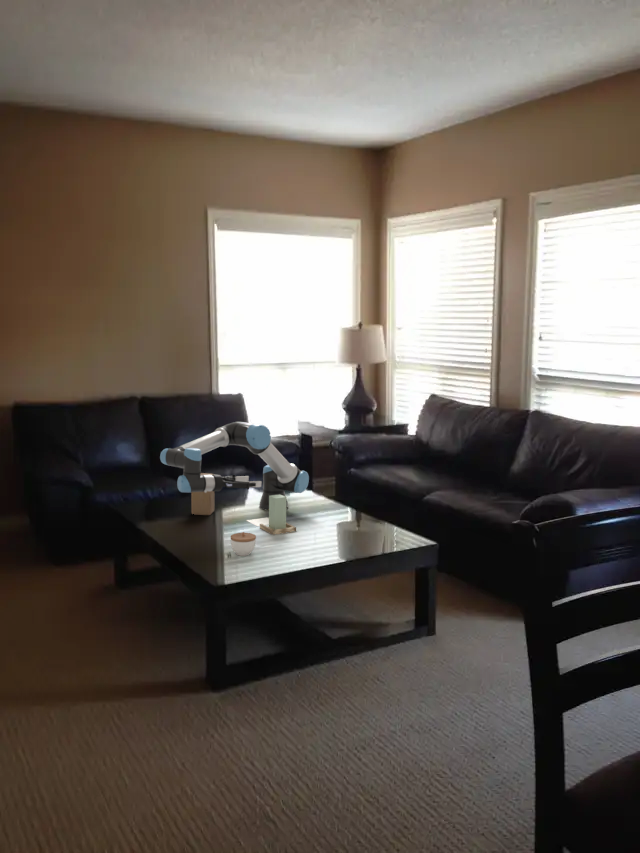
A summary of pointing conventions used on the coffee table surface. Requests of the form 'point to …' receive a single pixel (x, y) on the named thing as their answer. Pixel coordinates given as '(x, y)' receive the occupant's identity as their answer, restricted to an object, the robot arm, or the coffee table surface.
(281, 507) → the tall block
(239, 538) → the lidded jar
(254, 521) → the pad
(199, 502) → the block
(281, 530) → the shallow wooden tray
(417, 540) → the coffee table surface
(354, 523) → the coffee table surface
